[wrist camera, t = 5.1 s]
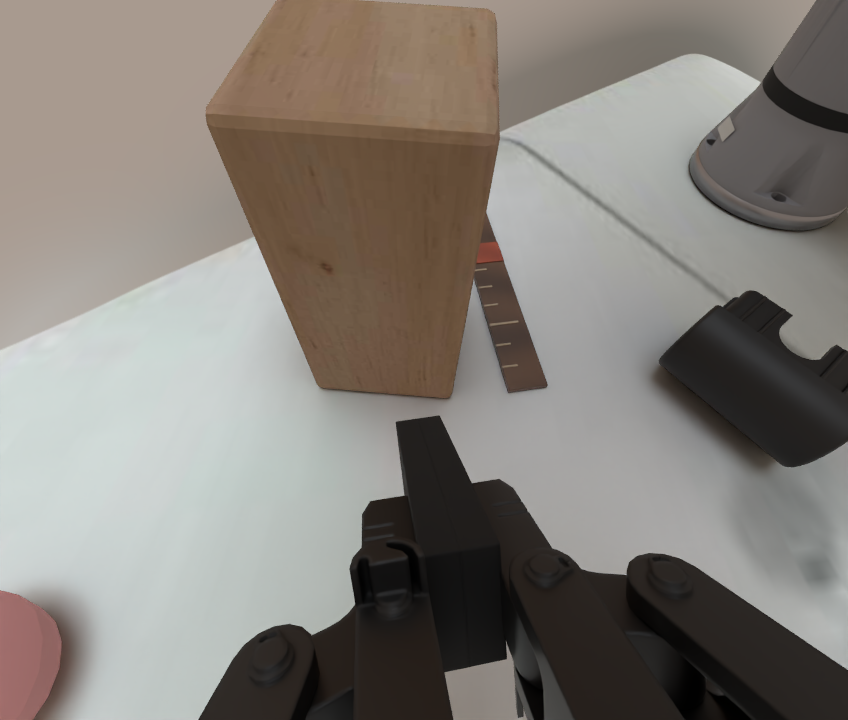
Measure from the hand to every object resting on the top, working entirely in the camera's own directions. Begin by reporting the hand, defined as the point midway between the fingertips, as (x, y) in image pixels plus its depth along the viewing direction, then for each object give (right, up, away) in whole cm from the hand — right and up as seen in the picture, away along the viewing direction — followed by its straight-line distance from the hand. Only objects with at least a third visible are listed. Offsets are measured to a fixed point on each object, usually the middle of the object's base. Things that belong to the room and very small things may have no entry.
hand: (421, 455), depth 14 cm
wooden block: (-2, +5, +19) cm, 20 cm away
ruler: (+6, +10, +22) cm, 25 cm away
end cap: (+23, 0, +17) cm, 28 cm away
